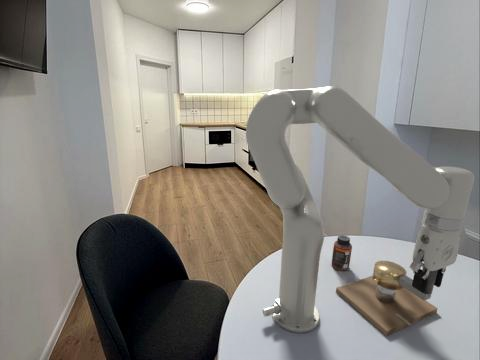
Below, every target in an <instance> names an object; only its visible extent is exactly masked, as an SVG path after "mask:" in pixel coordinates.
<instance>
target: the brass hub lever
mask: <svg viewBox="0 0 480 360" xmlns="http://www.w3.org/2000/svg"><path fill="white" fill-rule="evenodd" d="M421 270H422V271H423V272H424V271H425V268H423V267H422V269H421ZM437 271H438V270H435V271H430V272H429V275H428V277H427V278H428V279H429V281H428V285H427V289H426V292H425V293H422V292H420V291H419V290H417V289H416V288H414V287H413V286H412V282H413V279H412V278H411V277H409V276H408V275H407V271H406V269H405V268H404V267H403V266H401V265H400V264H398V263H396V262H393V261H389V260H378V261H376V262H375V264H374V267H373V273H372V276H373V280H374V283H375V284H376V285H380V286H382V287H384V288H387V289H391V290H400V289H402V288H403V287H404V288H405V289H407V290H408V291H410V292H411V293H413V294H414V295H416V296H418V297H419V298H421V299H422V300H424V301H425V300H426V301H427V300H431V297H432V294H433V290H434V287H435V285H434V283H435V279H436V275H437Z"/></svg>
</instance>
